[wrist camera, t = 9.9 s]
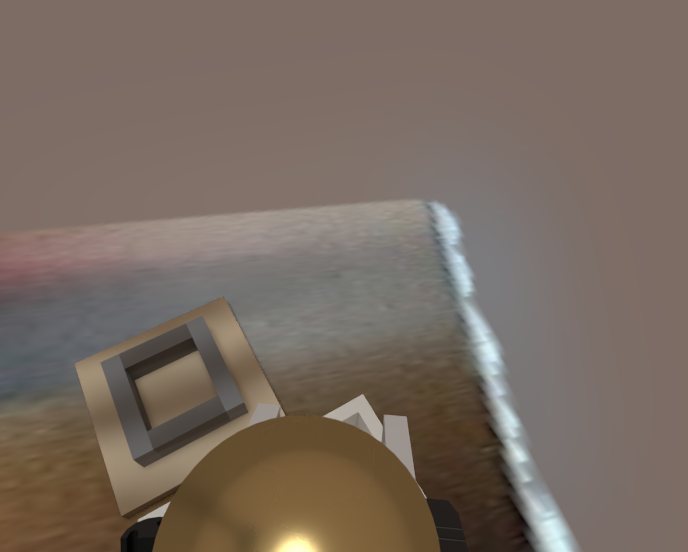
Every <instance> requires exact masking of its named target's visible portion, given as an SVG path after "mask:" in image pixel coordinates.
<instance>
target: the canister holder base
mask: <svg viewBox="0 0 688 552" xmlns="http://www.w3.org/2000/svg"><path fill="white" fill-rule="evenodd" d="M75 367H76V370H77V373H78V376H79V380H80V383H81V386H82V389H83V393H84V396H85V399H86V402H87V406H88V409H89V412H90V415H91V419H92V422H93V425H94V428H95V432H96V435H97V438H98V442H99V445H100V448H101V451H102V455H103V458H104V461H105V464H106V468H107V471H108V474H109V477H110V481H111V484H112V487H113V490H114V494H115V497H116V500H117V503H118V507H119V510H120V513H121V516H122V517H125V518H129V517H131V516H133V515H134V514H136V513H138V512H140V511H142V510H143V509H145V508H147V507H149V506H151V505H152V504H154V503H156V502H158V501H160V500H162V499H163V498H165V497H167V496H169V495H171V494H172V493H174V492H176V491H177V490H178V488H179V487H180V485H181V484H182V482H183V480H184V479H185V478H186V477H187V475H188V474H189V473H190V472H191V471H192V469H193V468H194V467H195V466H196V465H197V464H198V463H199V462H200V461H201V460H202V459H203V458H204V457H205V456H206V455H207V454H208V453H209V452H210V451H211V450H212V449H214V448H215V447H216V446H217V445H219V444H220V443H221V442H222V441H224V440H225V439H227V438H229V437H230V436H232V435H234V434H235V433H237V432H238V431H240V430H243V429H245V428H247V427H248V425H249V422H250V420H251V418H252V416H253V414H254V412H255V410H256V408H257V406H258V404H259V403H263V404H274V405H280V404H279V402H278V400H277V398H276V397H275V395H274V393H273V391H272V389H271V387H270V385H269V383H268V381H267V379H266V377H265V375H264V373H263V371H262V369H261V367H260V365H259V364H258V362H257V360H256V358H255V356H254V354H253V352H252V350H251V348H250V346H249V344H248V342H247V340H246V338H245V336H244V334H243V332H242V331H241V329H240V327H239V325H238V323H237V321H236V319H235V317H234V315H233V313H232V311H231V309H230V307H229V305H228V303H227V301H226V299H225V298H224V296H223V297H221V298H219V299H217V300H214V301H212V302H210V303H208V304H206V305H203V306H201V307H199V308H197V309H195V310H192V311H190V312H188V313H186V314H183V315H181V316H179V317H177V318H175V319H172V320H170V321H168V322H166V323H164V324H161V325H159V326H157V327H155V328H152V329H150V330H148V331H146V332H144V333H141V334H139V335H137V336H135V337H133V338H130V339H128V340H126V341H124V342H121V343H119V344H117V345H115V346H113V347H110V348H108V349H106V350H104V351H102V352H99V353H97V354H95V355H93V356H90V357H88V358H86V359H84V360H82V361H79V362H77V363H75ZM283 416H285V414H284V412H283V410H282V408H281V410H280V417H283Z"/></svg>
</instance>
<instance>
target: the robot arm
mask: <svg viewBox="0 0 688 552" xmlns="http://www.w3.org/2000/svg"><path fill="white" fill-rule="evenodd" d="M280 410H281V405H274V404H263V403H259V404H258V406H257V408H256V410H255V412H254V414H253V416H252V418H251V420H250V422H249V425H248V427H249V426H251V425H253V424H256V423H259V422H262V421H266V420H269V419H273V418H278V417H280ZM381 443H383V444H384V445H385V446H386V447H387V448H388V449H389V450H391V451H392V452H393V453H394V454H395V455H396V456H397V457H398V458H399V460H400V461H401V462H402V463H403V464H404V465H405V466H406V468H407V469H408V470H409V472H410V473H411V475H412V476H413V478H414V479H415V473H414V466H413V459H412V452H411V445H410V438H409V431H408V424H407V417H404V416H393V415H384V421H383V431H382V441H381ZM415 481H416V480H415ZM425 499H426V498H425ZM426 501H427V504H428V506H429V509H430V511H431V514H432V516H433V519H434V523H435V527H436V531H437V534H438V538H439V545H440V552H468V549H467V545H466V542H465V537H464V534H463V531H462V526H461V522H460V518H459V514H458V513H457V511H456V510H455V509H454V508H453V506H452V505H451V504H450V503H449V501H446V500H436V499H426ZM162 518H163V517H153V518H147V519H145V520H142V521H140V522H137V523H135V524H134V525H132V526H131V527H130V528H128V529H127V530H126V531H125V533H124V534H123V535H122V537H121V552H152V551H153V546H154V542H155V538H156V535H157V532H158V529H159V527H160V524H161V521H162Z"/></svg>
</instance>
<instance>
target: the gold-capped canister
mask: <svg viewBox="0 0 688 552" xmlns="http://www.w3.org/2000/svg"><path fill="white" fill-rule="evenodd" d="M152 552H440V545H439V538H438V534H437V531H436V527H435V523H434V519H433V516H432V514H431V511H430V509H429V506H428V504H427V501H426V499H425V497H424V495H423V493H422V491H421V489H420V487H419V486H418V484H417V482H416V481H415V479H414V478H413V476H412V475H411V473H410V472H409V470H408V469H407V468H406V466H405V465H404V464H403V463H402V462H401V461H400V460H399V458H398V457H397V456H396V455H395V454H394V453H393V452H392V451H391V450H389V449H388V448H387V447H386V446H385V445H384V444H383V443H381V442H380V441H379V440H377V439H376V438H374V437H373V436H371V435H370V434H368V433H367V432H365V431H363V430H361V429H359V428H357V427H355V426H353V425H351V424H348V423H345V422H342V421H339V420H336V419H332V418H327V417H322V416H312V415H293V416H283V417H278V418H273V419H269V420H266V421H262V422H259V423H256V424H253V425H251V426H249V427H247V428H245V429H243V430H240V431H238V432H237V433H235V434H234V435H232V436H230V437H229V438H227V439H225V440H224V441H222V442H221V443H220V444H219V445H217V446H216V447H215V448H214V449H212V450H211V451H210V452H209V453H208V454H207V455H206V456H205V457H204V458H203V459H202V460H201V461H200V462H199V463H198V464H197V465H196V466H195V467H194V468H193V469H192V471H191V472H190V473H189V474H188V475H187V477H186V478H185V479H184V480H183V482H182V484H181V485H180V487H179V488H178V490H177V491H176V493H175V495H174V496H173V498H172V500H171V502H170V504H169V506H168V508H167V510H166V512H165V514H164V516H163V518H162V521H161V524H160V527H159V529H158V532H157V535H156V538H155V542H154V546H153V551H152Z"/></svg>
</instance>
